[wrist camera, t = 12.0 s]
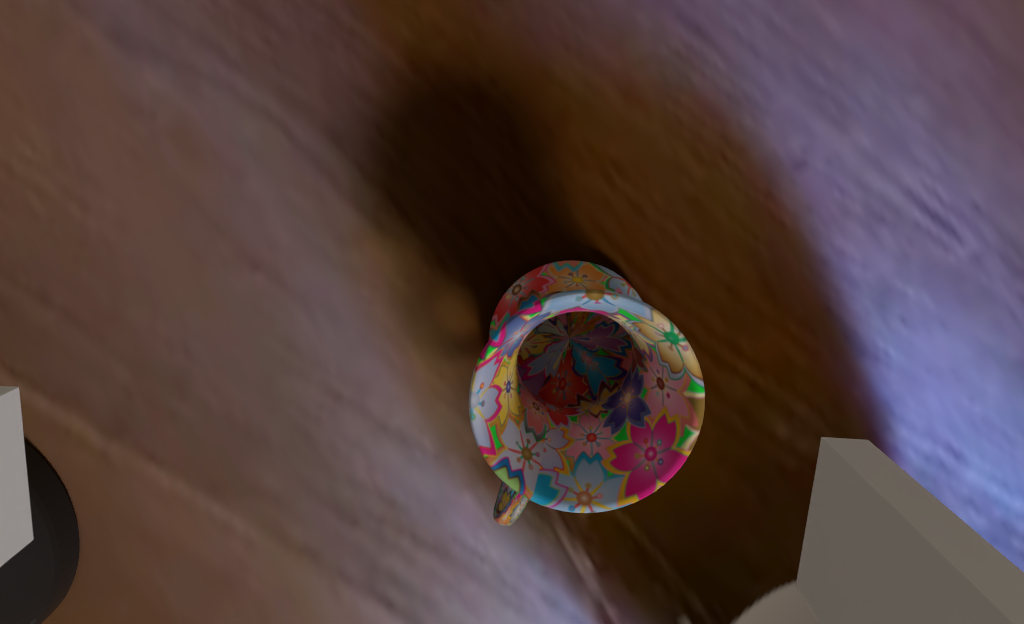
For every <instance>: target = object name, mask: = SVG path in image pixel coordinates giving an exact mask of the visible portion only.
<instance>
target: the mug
mask: <svg viewBox="0 0 1024 624" xmlns="http://www.w3.org/2000/svg"><path fill="white" fill-rule="evenodd" d="M704 408H705V392H704V383H703V377H702V373H701V370H700V366H699V363H698V361H697V358H696V356H695V354H694V352H693V350H692V348H691V346H690V344H689V343H688V341H687V340H686V339H685V337H684V336H683V334H682V333H681V332H680V331H679V330H678V328H677V327H676V326H675V325H674V324H673V323H672V322H671V321H670V320H669V319H668V318H667V317H665V316H664V315H663V314H661V313H660V312H659V311H658V310H656V309H654V308H653V307H651V306H650V305H648V304H646V303H644V302H643V301H642V299H641V298H640V296H639V295H638V293H637V292H636V291H635V290H634V288H633V287H632V286H631V285H630V284H629V283H628V282H627V281H626V280H625V279H623V278H622V277H621V276H619V275H618V274H616V273H615V272H613V271H611V270H609V269H607V268H605V267H603V266H600V265H597V264H594V263H590V262H584V261H573V260H572V261H559V262H554V263H549V264H546V265H543V266H540V267H538V268H536V269H534V270H532V271H530V272H528V273H527V274H525V275H524V276H522V277H521V278H520V279H518V280H517V281H516V282H515V283H514V284H513V285H512V286H511V287H510V288H509V289H508V290H507V291H506V293H505V294H504V295H503V297H502V298H501V300H500V302H499V303H498V305H497V307H496V309H495V312H494V315H493V317H492V321H491V325H490V331H489V341H488V342H487V344H486V346H485V347H484V349H483V351H482V353H481V355H480V357H479V359H478V361H477V364H476V366H475V369H474V372H473V376H472V380H471V385H470V392H469V415H470V422H471V427H472V431H473V434H474V437H475V440H476V443H477V445H478V447H479V449H480V451H481V453H482V455H483V457H484V458H485V460H486V462H487V463H488V465H489V466H490V467H491V468H492V470H493V471H494V472H495V473H496V474H497V475H498V477H499V478H500V479H501V480H502V484H501V487H500V490H499V493H498V496H497V499H496V503H495V507H494V513H493V516H494V520H495V521H496V522H497V523H499V524H501V525H503V526H509V525H511V524H512V523H513V522H515V520H516V519H517V518H518V517H519V515H520V514H521V512H522V511H523V509H524V508H525V506H526V504H527V502H528V500H531V501H533V502H536V503H538V504H540V505H543V506H546V507H549V508H552V509H556V510H560V511H567V512H576V513H595V512H603V511H609V510H613V509H617V508H621V507H624V506H627V505H630V504H632V503H634V502H637V501H639V500H641V499H643V498H645V497H647V496H648V495H650V494H651V493H653V492H654V491H656V490H657V489H659V488H660V487H661V486H663V485H664V484H665V483H666V482H667V481H668V480H669V479H670V478H671V477H673V475H674V474H675V473H676V472H677V471H678V470H679V469H680V467H681V466H682V465H683V463H684V462H685V461H686V459H687V458H688V456H689V454H690V453H691V451H692V449H693V447H694V445H695V442H696V440H697V438H698V435H699V432H700V429H701V425H702V421H703V415H704Z"/></svg>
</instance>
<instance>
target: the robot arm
mask: <svg viewBox="0 0 1024 624" xmlns="http://www.w3.org/2000/svg"><path fill="white" fill-rule="evenodd" d="M78 559H79V532H78V526H77V521H76V517H75V513H74V510H73V507H72V504H71V502H70V500H69V497H68V495H67V493H66V491H65V489H64V487H63V486H62V484H61V482H60V481H59V479H58V477H57V476H56V475H55V473H54V472H53V470H52V469H51V468H50V467H49V465H48V464H47V463H46V462H45V461H44V460H43V458H42V457H41V456H40V455H39V454H38V453H37V452H36V451H35V450H34V449H33V448H32V447H30V446H29V445H28V444H27V443H26V442H24V435H23V425H22V415H21V404H20V394H19V387H9V386H0V624H41V623H42V622H43V621H44V620H45V619H46V618H47V617H48V616H49V615H50V614H51V613H52V612H53V611H54V610H55V609H56V608H57V607H58V605H59V604H60V603H61V602H62V600H63V599H64V597H65V596H66V594H67V592H68V591H69V589H70V586H71V584H72V582H73V579H74V576H75V573H76V569H77V565H78ZM796 587H797V589H798V590H799V592H800V593H801V595H802V597H803V598H804V600H805V601H806V603H807V605H808V606H809V608H810V609H811V611H812V613H813V614H814V616H815V617H816V619H817V621H818V622H819V624H1024V573H1023V572H1022V571H1021V570H1020V569H1019V568H1018V567H1016V566H1015V565H1014V564H1013V563H1012V562H1011V561H1009V560H1008V559H1007V558H1006V557H1005V556H1003V555H1002V554H1001V553H1000V552H999V551H998V550H996V549H995V548H994V547H993V546H992V545H991V544H989V543H988V542H987V541H986V540H985V539H984V538H982V537H981V536H980V535H979V534H978V533H976V532H975V531H974V530H973V529H972V528H971V527H969V526H968V525H967V524H966V523H965V522H964V521H962V520H961V519H960V518H959V517H958V516H957V515H955V514H954V513H953V512H952V511H951V510H949V509H948V508H947V507H946V506H945V505H944V504H942V503H941V502H940V501H939V500H938V499H937V498H935V497H934V496H933V495H932V494H931V493H930V492H928V491H927V490H926V489H925V488H924V487H922V486H921V485H920V484H919V483H918V482H917V481H915V480H914V479H913V478H912V477H911V476H910V475H908V474H907V473H906V472H905V471H904V470H903V469H901V468H900V467H899V466H898V465H897V464H895V463H894V462H893V461H892V460H891V459H890V458H888V457H887V456H886V455H885V454H884V453H883V452H881V451H880V450H879V449H878V448H877V447H876V446H874V445H873V444H872V443H871V442H870V441H868V440H859V439H843V438H827V437H821V443H820V449H819V455H818V461H817V466H816V472H815V478H814V484H813V490H812V495H811V501H810V507H809V513H808V519H807V525H806V530H805V536H804V542H803V548H802V554H801V559H800V565H799V571H798V577H797V583H796Z"/></svg>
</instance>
